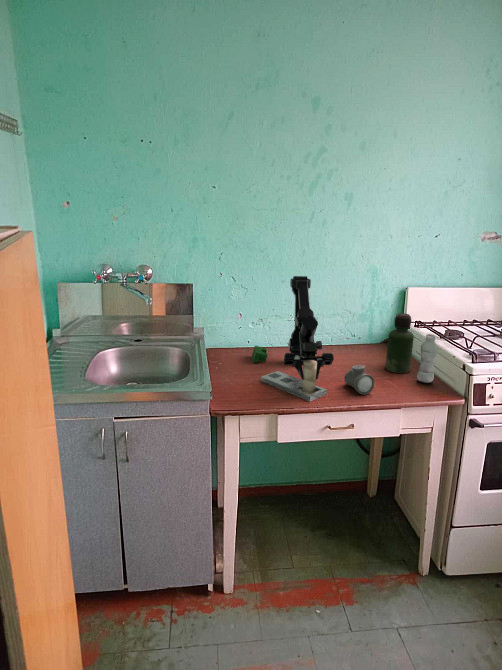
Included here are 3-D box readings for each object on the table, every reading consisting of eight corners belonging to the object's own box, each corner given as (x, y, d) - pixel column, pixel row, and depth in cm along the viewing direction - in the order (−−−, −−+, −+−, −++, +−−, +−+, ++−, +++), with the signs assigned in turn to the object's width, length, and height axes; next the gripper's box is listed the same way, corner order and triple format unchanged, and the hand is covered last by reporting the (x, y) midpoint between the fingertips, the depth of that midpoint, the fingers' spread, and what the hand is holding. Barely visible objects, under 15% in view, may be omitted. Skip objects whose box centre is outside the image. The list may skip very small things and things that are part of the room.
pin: (307, 390, 186) (309, 359, 182) (317, 394, 182) (319, 362, 179) (299, 393, 183) (300, 361, 179) (309, 397, 179) (311, 365, 175)
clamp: (262, 371, 216) (268, 358, 211) (251, 368, 216) (256, 355, 210) (263, 354, 225) (268, 341, 220) (252, 352, 224) (257, 339, 219)
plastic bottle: (425, 385, 192) (431, 338, 187) (412, 380, 198) (418, 334, 192) (436, 383, 195) (443, 336, 190) (424, 377, 201) (430, 332, 195)
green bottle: (395, 375, 203) (401, 318, 196) (380, 366, 213) (386, 312, 205) (414, 372, 207) (421, 316, 200) (399, 364, 216) (405, 311, 209)
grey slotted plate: (277, 375, 200) (278, 370, 200) (326, 394, 182) (327, 389, 182) (260, 381, 194) (261, 376, 193) (309, 401, 176) (310, 396, 175)
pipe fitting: (375, 392, 184) (374, 367, 181) (357, 397, 181) (356, 371, 179) (359, 384, 195) (358, 360, 193) (341, 388, 192) (340, 364, 190)
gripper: (285, 332, 179) (287, 370, 172) (334, 333, 180) (338, 370, 173) (282, 346, 189) (284, 382, 182) (329, 346, 190) (332, 382, 182)
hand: (309, 379), depth 179 cm, fingers closed on pin, 5 cm apart
